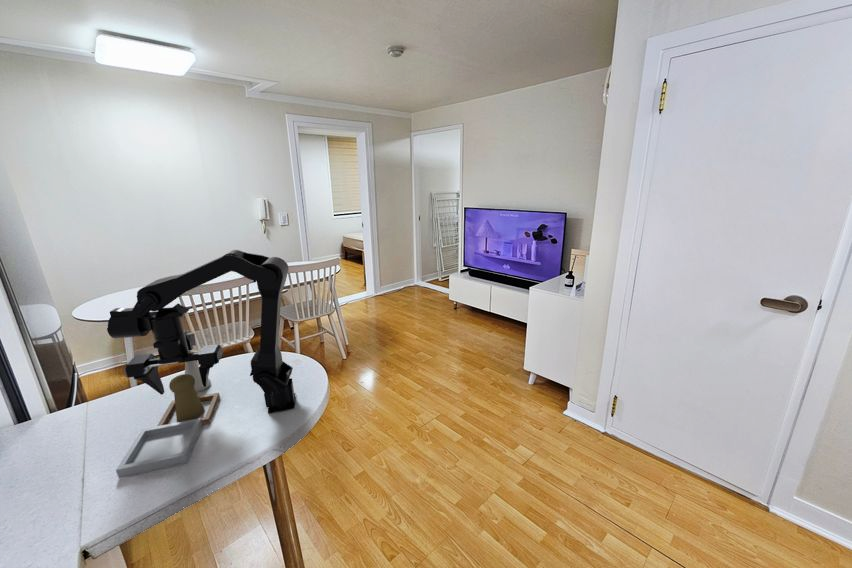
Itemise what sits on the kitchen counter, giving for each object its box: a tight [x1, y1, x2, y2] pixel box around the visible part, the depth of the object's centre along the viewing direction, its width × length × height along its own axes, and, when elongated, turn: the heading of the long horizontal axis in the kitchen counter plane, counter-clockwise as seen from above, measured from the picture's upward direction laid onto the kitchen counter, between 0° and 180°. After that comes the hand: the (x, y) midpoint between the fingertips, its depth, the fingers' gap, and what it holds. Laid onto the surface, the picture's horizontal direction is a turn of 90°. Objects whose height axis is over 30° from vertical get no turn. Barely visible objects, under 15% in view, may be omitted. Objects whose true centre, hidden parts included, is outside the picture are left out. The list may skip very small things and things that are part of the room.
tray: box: [115, 417, 204, 479], centre depth 77 cm, size 12×12×2 cm
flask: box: [184, 360, 212, 393], centre depth 97 cm, size 7×7×10 cm
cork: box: [168, 373, 205, 422], centre depth 86 cm, size 6×6×11 cm
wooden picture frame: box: [157, 392, 221, 426], centre depth 88 cm, size 11×11×2 cm
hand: (184, 389), depth 86 cm, fingers open, 9 cm apart
